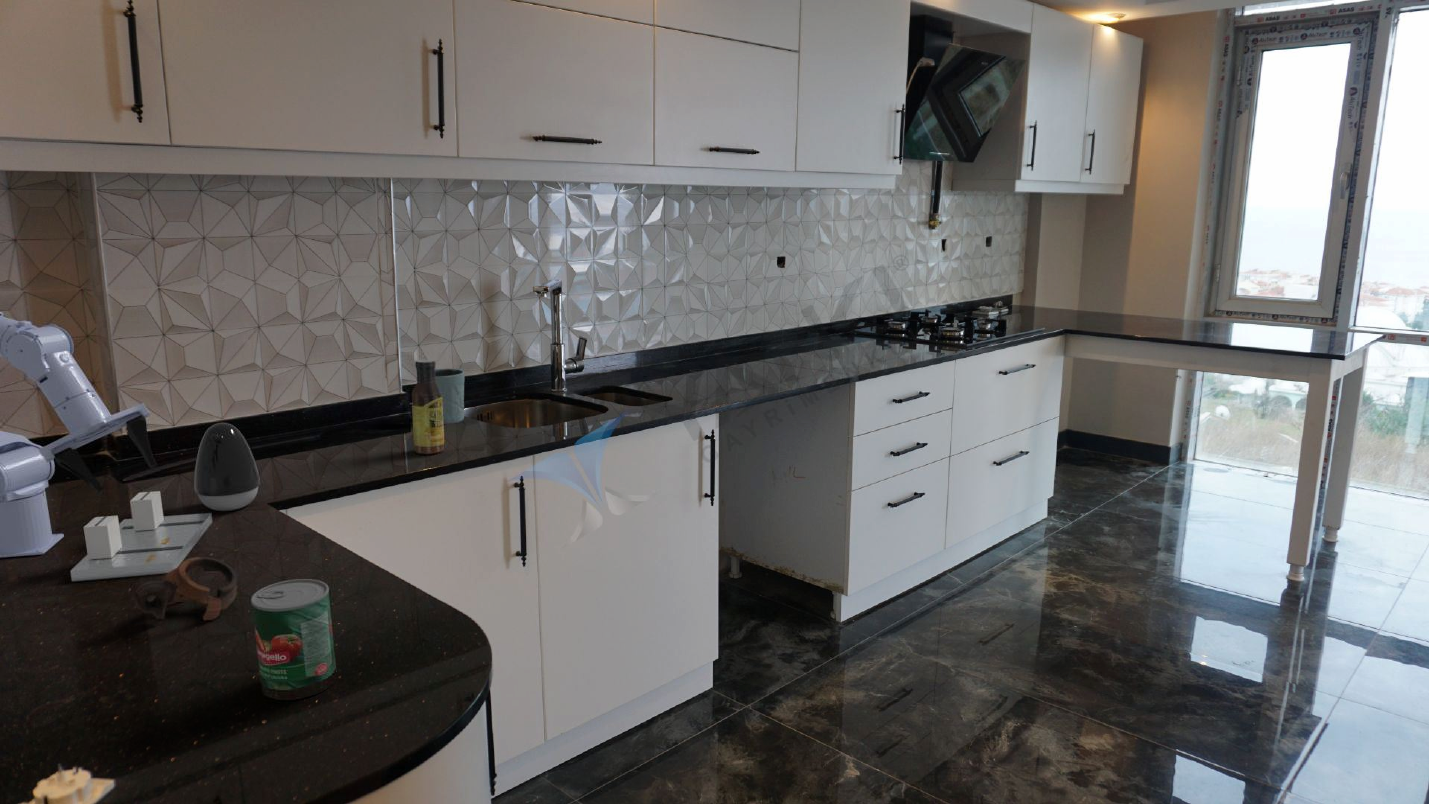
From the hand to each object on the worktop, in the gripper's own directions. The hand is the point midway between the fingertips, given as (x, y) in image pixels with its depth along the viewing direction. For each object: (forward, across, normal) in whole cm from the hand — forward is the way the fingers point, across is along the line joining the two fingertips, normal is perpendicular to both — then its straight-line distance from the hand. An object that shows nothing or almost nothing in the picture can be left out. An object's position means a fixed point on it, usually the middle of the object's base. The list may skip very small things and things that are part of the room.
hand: (127, 479), depth 138 cm
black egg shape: (+10, +14, +20) cm, 26 cm away
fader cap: (+8, -7, +4) cm, 11 cm away
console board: (+10, -2, +7) cm, 13 cm away
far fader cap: (+7, +1, +12) cm, 14 cm away
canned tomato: (+34, -4, -45) cm, 57 cm away
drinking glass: (+15, +72, +55) cm, 92 cm away
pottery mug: (+22, -6, -20) cm, 30 cm away
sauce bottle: (+20, +55, +32) cm, 66 cm away
